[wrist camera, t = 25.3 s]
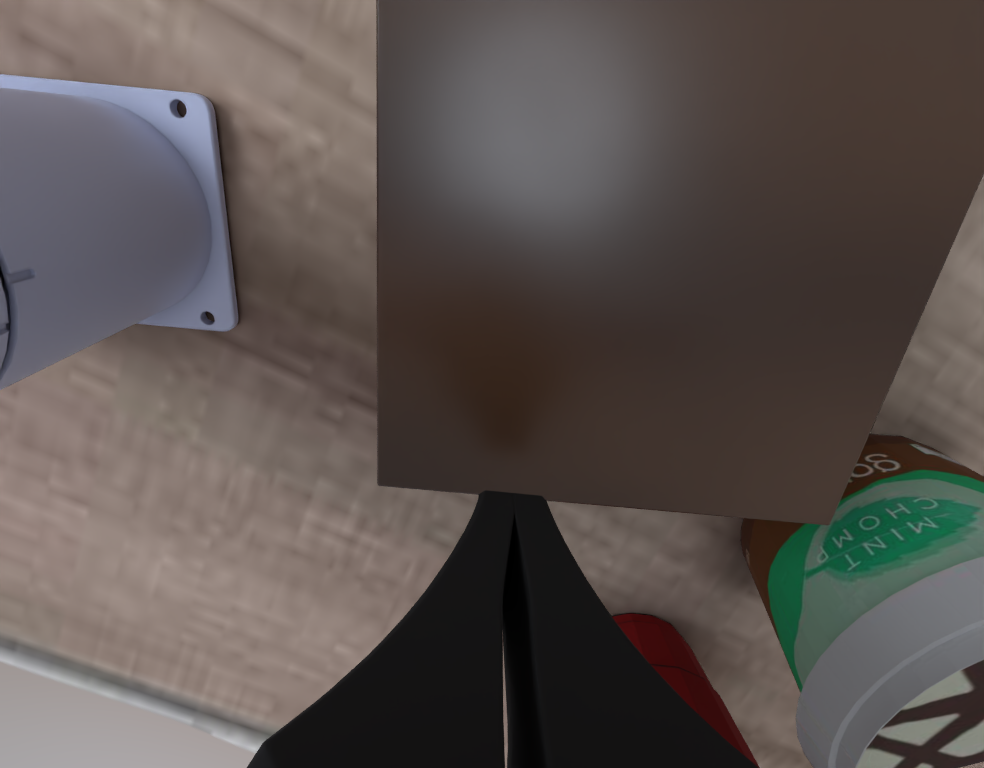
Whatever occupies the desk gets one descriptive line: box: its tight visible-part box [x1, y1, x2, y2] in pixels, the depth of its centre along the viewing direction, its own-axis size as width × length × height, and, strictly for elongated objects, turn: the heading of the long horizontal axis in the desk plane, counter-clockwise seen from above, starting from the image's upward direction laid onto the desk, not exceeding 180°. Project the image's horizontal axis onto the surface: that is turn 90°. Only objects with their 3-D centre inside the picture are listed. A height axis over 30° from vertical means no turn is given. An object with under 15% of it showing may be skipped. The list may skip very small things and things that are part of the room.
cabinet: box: [376, 0, 984, 525], centre depth 15 cm, size 14×12×8 cm
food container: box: [741, 434, 984, 768], centre depth 19 cm, size 12×6×10 cm, turn 138°
